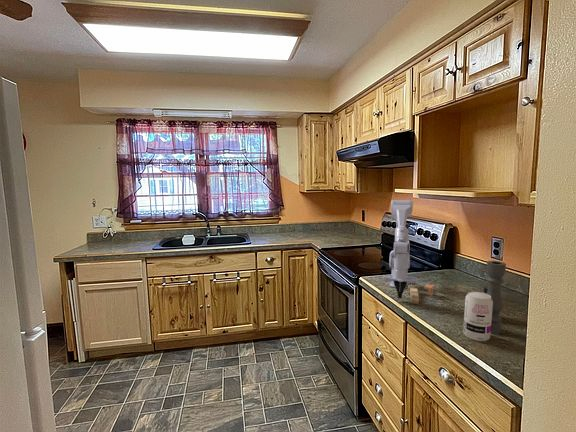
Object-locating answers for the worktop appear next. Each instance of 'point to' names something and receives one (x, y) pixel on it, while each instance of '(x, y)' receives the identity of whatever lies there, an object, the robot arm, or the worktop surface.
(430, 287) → the keeper
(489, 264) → the candle holder
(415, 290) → the link
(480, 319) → the supplement can
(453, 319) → the worktop surface
